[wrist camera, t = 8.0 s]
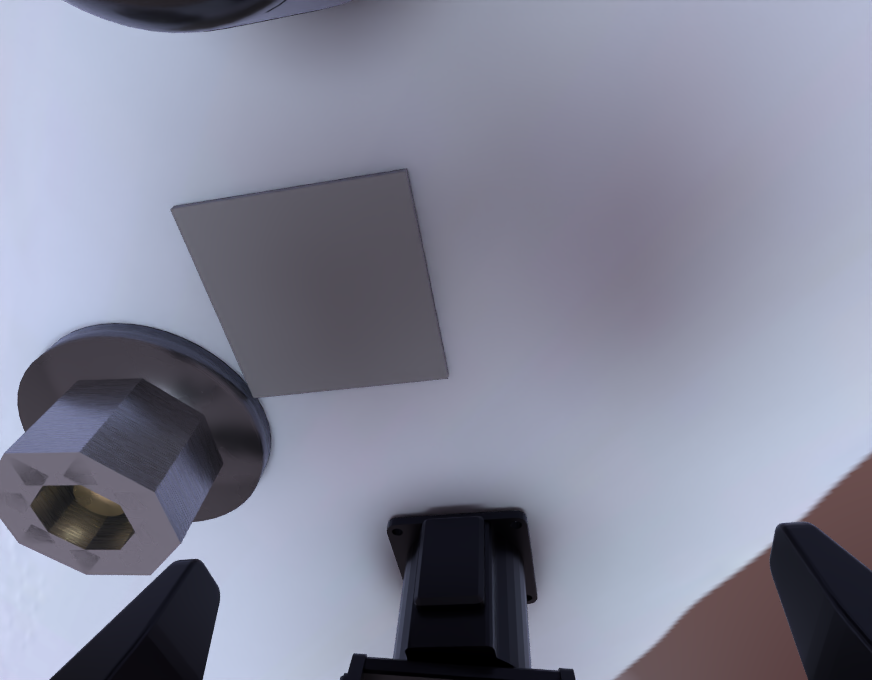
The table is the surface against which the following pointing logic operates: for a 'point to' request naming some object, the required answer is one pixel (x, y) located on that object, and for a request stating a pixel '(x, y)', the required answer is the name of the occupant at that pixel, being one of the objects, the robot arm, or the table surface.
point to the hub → (173, 373)
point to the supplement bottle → (197, 12)
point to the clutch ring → (109, 476)
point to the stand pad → (319, 284)
